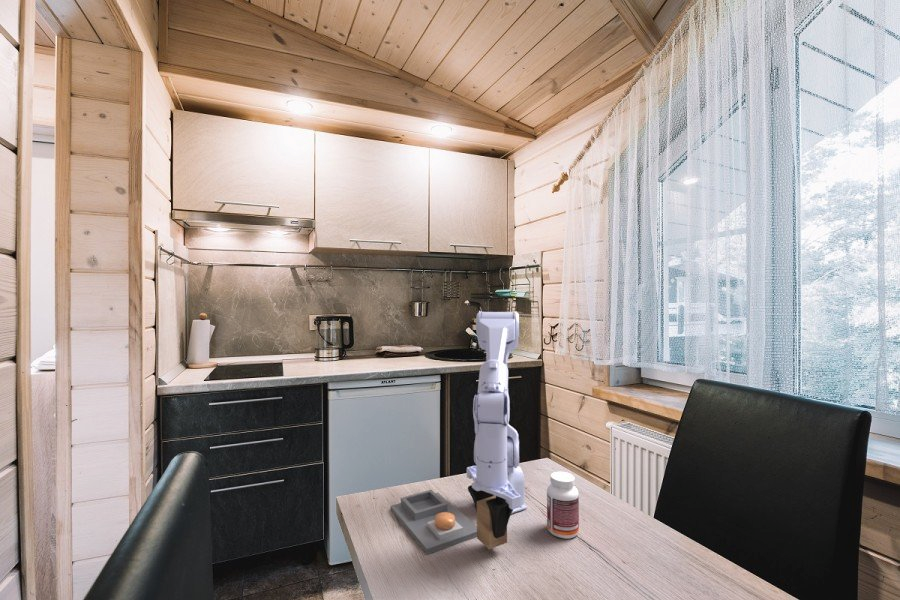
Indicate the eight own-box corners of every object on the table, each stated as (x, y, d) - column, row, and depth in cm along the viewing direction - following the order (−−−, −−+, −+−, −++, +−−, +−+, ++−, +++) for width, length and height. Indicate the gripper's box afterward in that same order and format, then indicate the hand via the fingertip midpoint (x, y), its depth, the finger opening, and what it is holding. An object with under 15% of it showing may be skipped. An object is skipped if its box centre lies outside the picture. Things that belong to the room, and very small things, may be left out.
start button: (448, 516, 85) (448, 510, 85) (458, 525, 81) (458, 519, 81) (431, 521, 83) (431, 515, 83) (440, 531, 79) (440, 525, 79)
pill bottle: (585, 533, 82) (585, 478, 82) (564, 543, 78) (564, 486, 78) (561, 519, 87) (561, 467, 87) (540, 528, 84) (540, 474, 84)
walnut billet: (494, 531, 79) (494, 495, 79) (507, 542, 76) (507, 504, 76) (477, 538, 77) (476, 501, 77) (489, 549, 74) (489, 510, 74)
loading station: (438, 496, 97) (438, 486, 97) (481, 535, 81) (481, 522, 81) (390, 510, 91) (390, 499, 91) (427, 554, 75) (426, 540, 75)
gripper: (453, 448, 81) (453, 517, 81) (497, 476, 68) (497, 558, 68) (483, 441, 84) (483, 507, 84) (530, 467, 72) (530, 545, 72)
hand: (492, 529), depth 77 cm, fingers closed on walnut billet, 4 cm apart
